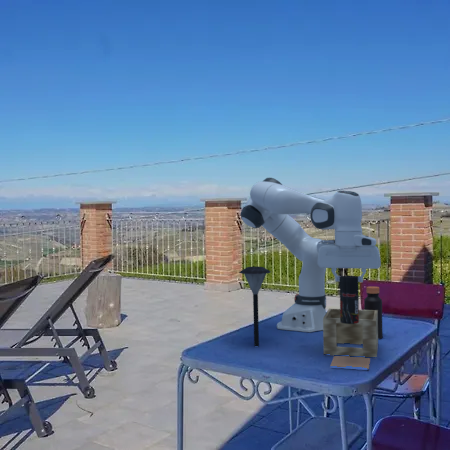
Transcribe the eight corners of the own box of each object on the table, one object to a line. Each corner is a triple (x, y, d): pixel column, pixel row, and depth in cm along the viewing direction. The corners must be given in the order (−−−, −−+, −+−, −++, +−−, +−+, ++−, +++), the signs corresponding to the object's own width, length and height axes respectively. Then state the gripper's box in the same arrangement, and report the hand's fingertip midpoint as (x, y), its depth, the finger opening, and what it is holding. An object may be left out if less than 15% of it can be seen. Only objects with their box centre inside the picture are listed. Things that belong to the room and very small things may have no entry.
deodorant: (355, 324, 167) (355, 278, 167) (337, 322, 170) (337, 277, 170) (360, 321, 172) (360, 276, 172) (343, 319, 175) (342, 275, 175)
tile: (330, 368, 168) (330, 365, 168) (334, 357, 179) (334, 355, 179) (368, 371, 164) (368, 368, 164) (370, 360, 176) (370, 357, 176)
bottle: (364, 338, 204) (363, 288, 203) (365, 334, 210) (364, 285, 210) (382, 340, 202) (381, 288, 201) (383, 335, 208) (382, 286, 207)
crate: (323, 354, 183) (323, 318, 183) (329, 342, 200) (329, 308, 200) (376, 358, 178) (376, 320, 177) (378, 344, 195) (377, 310, 194)
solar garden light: (275, 342, 201) (274, 265, 200) (268, 351, 189) (267, 269, 188) (245, 341, 205) (243, 265, 204) (236, 349, 193) (234, 269, 192)
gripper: (315, 240, 171) (315, 282, 171) (380, 240, 164) (380, 283, 165) (317, 239, 177) (318, 279, 177) (380, 239, 170) (381, 281, 171)
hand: (349, 281), depth 171 cm, fingers closed on deodorant, 6 cm apart
